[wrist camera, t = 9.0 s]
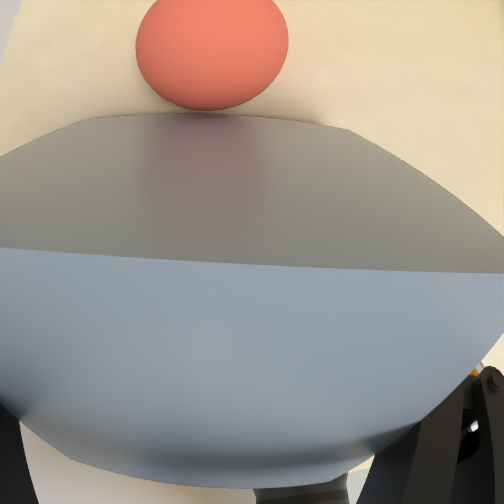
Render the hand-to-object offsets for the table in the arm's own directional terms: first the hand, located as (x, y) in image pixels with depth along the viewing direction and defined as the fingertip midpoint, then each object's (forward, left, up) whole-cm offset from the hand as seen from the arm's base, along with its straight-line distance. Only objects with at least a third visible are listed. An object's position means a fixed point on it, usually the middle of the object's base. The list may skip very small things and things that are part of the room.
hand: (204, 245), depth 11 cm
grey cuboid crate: (0, 0, -1) cm, 1 cm away
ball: (+8, 0, 0) cm, 8 cm away
